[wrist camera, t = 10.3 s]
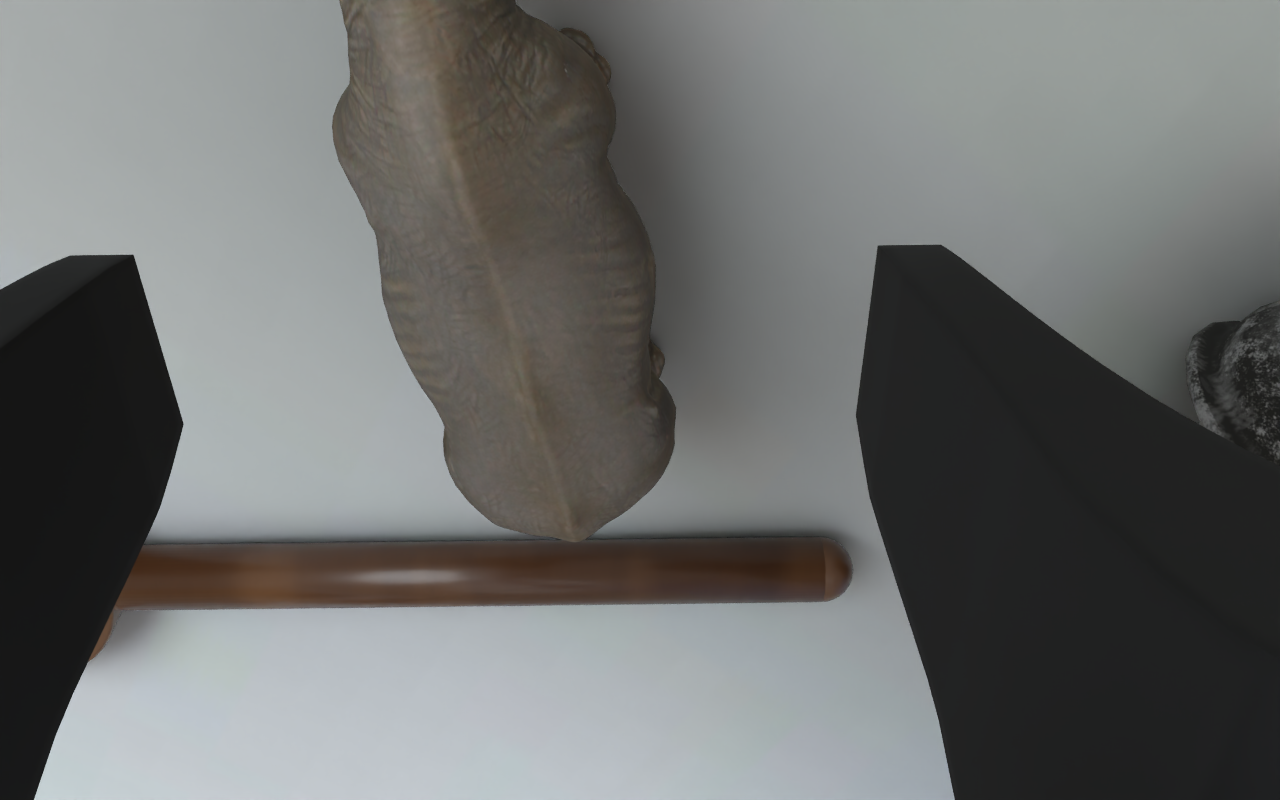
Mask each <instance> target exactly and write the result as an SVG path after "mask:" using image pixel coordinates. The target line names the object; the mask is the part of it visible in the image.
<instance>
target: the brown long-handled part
mask: <svg viewBox="0 0 1280 800" xmlns="http://www.w3.org/2000/svg"><path fill="white" fill-rule="evenodd" d="M852 574H853V565H852V561H851V558H850V556H849V554H848V552H847V551H846V550H845V548H844V547H843V546H842V545H840V544H839V543H838V542H836V541H834V540H832V539H829V538H825V537H771V538H684V539H598V540H582V541H580V542H569V541H566V540H511V541H424V542H338V543H251V544H164V545H143V546H142V548H141V551H140V553H139V555H138V557H137V559H136V561H135V564H134V566H133V568H132V570H131V572H130V574H129V577H128V579H127V581H126V583H125V585H124V587H123V589H122V591H121V593H120V595H119V598H118V600H117V602H116V604H115V606H114V608H113V610H112V612H111V614H110V617H109V619H108V621H107V623H106V625H105V627H104V629H103V631H102V633H101V635H100V638H99V640H98V642H97V644H96V646H95V648H94V650H93V652H92V654H91V657H90V659H89V661H90V660H92V659H93V658H94V657H95V656H97V655H98V653H99V652H100V651H101V650H102V649H103V648H104V647H105V645H106V643H107V641H108V640H109V638H110V636H111V634H112V632H113V629H114V627H115V625H116V623H117V621H118V619H119V616H120V614H121V612H122V610H123V611H131V610H212V609H293V608H374V607H455V606H536V605H617V604H698V603H779V602H826V601H830V600H833V599H835V598H837V597H839V596H840V595H841V594H843V593H844V592H845V590H846V589H847V588H848V586H849V584H850V582H851V579H852ZM89 661H88V662H89Z"/></svg>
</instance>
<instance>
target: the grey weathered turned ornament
mask: <svg viewBox="0 0 1280 800" xmlns="http://www.w3.org/2000/svg"><path fill="white" fill-rule="evenodd" d="M1186 372H1187V386H1188V389H1189V392H1190V395H1191V398H1192V401H1193V404H1194V407H1195V410H1196V413H1197V416H1198V419H1199V420H1200V422H1199V423H1198V424H1199V425H1201V426H1203V427H1205V428H1207V429H1209V430H1210V431H1212V432H1214V433H1216V434H1218V435H1220V436H1222V437H1223V438H1225V439H1227V440H1229V441H1231V442H1233V443H1234V444H1236V445H1238V446H1240V447H1242V448H1244V449H1246V450H1248V451H1250V452H1252V453H1253V454H1255V455H1258V456H1260V457H1262V458H1264V459H1266V460H1268V461H1270V462H1272V463H1274V464H1276V465H1278V466H1280V301H1278V302H1275V303H1271V304H1268V305H1265V306H1262V307H1260V308H1258V309H1257V310H1256V311H1254V312H1253V313H1251V314H1250V315H1249V316H1247V317H1246V318H1245V319H1243V320H1242V321H1228V322H1215V323H1211V324H1210V325H1208V326H1207V327H1205V328H1204V329H1202V330H1201V331H1199V332H1198V333H1197V334H1195V335H1194V336H1193V338H1192V341H1191V344H1190V346H1189V349H1188V351H1187V354H1186Z"/></svg>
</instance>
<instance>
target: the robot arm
mask: <svg viewBox="0 0 1280 800" xmlns="http://www.w3.org/2000/svg"><path fill="white" fill-rule="evenodd" d="M856 418H857V425H858V431H859V437H860V444H861V450H862V456H863V462H864V468H865V474H866V479H867V485H868V490H869V496H870V500H871V503H872V506H873V510H874V513H875V516H876V520H877V523H878V526H879V529H880V532H881V535H882V539H883V542H884V545H885V548H886V551H887V555H888V558H889V561H890V564H891V567H892V570H893V573H894V576H895V579H896V583H897V586H898V589H899V592H900V595H901V598H902V601H903V604H904V607H905V610H906V613H907V617H908V620H909V623H910V626H911V629H912V632H913V635H914V638H915V641H916V644H917V648H918V651H919V654H920V657H921V660H922V663H923V666H924V669H925V672H926V675H927V678H928V682H929V686H930V690H931V693H932V697H933V701H934V704H935V708H936V712H937V715H938V719H939V724H940V728H941V733H942V738H943V743H944V748H945V753H946V758H947V763H948V768H949V773H950V778H951V783H952V788H953V793H954V798H955V800H1280V466H1278V465H1276V464H1274V463H1272V462H1270V461H1268V460H1266V459H1264V458H1262V457H1260V456H1258V455H1255V454H1253V453H1252V452H1250V451H1248V450H1246V449H1244V448H1242V447H1240V446H1238V445H1236V444H1234V443H1233V442H1231V441H1229V440H1227V439H1225V438H1223V437H1222V436H1220V435H1218V434H1216V433H1214V432H1212V431H1210V430H1209V429H1207V428H1205V427H1203V426H1201V425H1199V424H1197V423H1196V422H1194V421H1192V420H1190V419H1188V418H1186V417H1185V416H1183V415H1181V414H1179V413H1178V412H1176V411H1174V410H1173V409H1171V408H1169V407H1168V406H1166V405H1164V404H1163V403H1161V402H1159V401H1158V400H1156V399H1154V398H1153V397H1151V396H1150V395H1148V394H1147V393H1145V392H1143V391H1142V390H1140V389H1139V388H1137V387H1136V386H1134V385H1133V384H1131V383H1130V382H1128V381H1127V380H1125V379H1123V378H1122V377H1120V376H1119V375H1117V374H1116V373H1114V372H1113V371H1111V370H1110V369H1108V368H1107V367H1105V366H1104V365H1102V364H1101V363H1099V362H1098V361H1096V360H1095V359H1094V358H1092V357H1091V356H1089V355H1088V354H1086V353H1085V352H1084V351H1082V350H1081V349H1079V348H1078V347H1076V346H1075V345H1074V344H1072V343H1071V342H1070V341H1068V340H1067V339H1065V338H1064V337H1063V336H1061V335H1060V334H1059V333H1057V332H1056V331H1055V330H1053V329H1052V328H1051V327H1049V326H1048V325H1047V324H1045V323H1044V322H1043V321H1041V320H1040V319H1038V318H1037V317H1036V316H1035V315H1033V314H1032V313H1031V312H1029V311H1028V310H1027V309H1025V308H1024V307H1023V306H1022V305H1020V304H1019V303H1018V302H1016V301H1015V300H1014V299H1013V298H1011V297H1010V296H1009V295H1007V294H1006V293H1005V292H1004V291H1002V290H1001V289H1000V288H999V287H997V286H996V285H995V284H993V283H992V282H991V281H990V280H988V279H987V278H986V277H984V276H983V275H982V274H981V273H979V272H978V271H977V270H975V269H974V268H973V267H972V266H970V265H969V264H968V263H966V262H965V261H964V260H962V259H961V258H960V257H958V256H957V255H955V254H954V253H953V252H951V251H950V250H948V249H947V248H945V247H944V246H942V245H883V246H878V249H877V257H876V265H875V272H874V280H873V288H872V295H871V303H870V311H869V318H868V326H867V334H866V342H865V349H864V357H863V365H862V372H861V380H860V388H859V395H858V403H857V411H856ZM183 425H184V424H183V421H182V417H181V414H180V410H179V407H178V404H177V400H176V397H175V394H174V390H173V387H172V383H171V380H170V377H169V373H168V370H167V367H166V363H165V360H164V356H163V353H162V350H161V346H160V343H159V339H158V336H157V333H156V329H155V326H154V323H153V319H152V316H151V312H150V309H149V306H148V302H147V299H146V296H145V292H144V289H143V285H142V282H141V279H140V275H139V272H138V269H137V265H136V262H135V258H134V255H79V256H68V257H66V258H63V259H61V260H58V261H56V262H53V263H51V264H49V265H47V266H45V267H43V268H40V269H38V270H36V271H35V272H33V273H31V274H29V275H27V276H25V277H23V278H21V279H19V280H17V281H15V282H14V283H12V284H10V285H8V286H6V287H4V288H3V289H1V290H0V800H34V798H35V795H36V792H37V789H38V786H39V783H40V780H41V777H42V774H43V771H44V768H45V765H46V762H47V759H48V756H49V753H50V750H51V747H52V744H53V741H54V738H55V736H56V733H57V731H58V728H59V726H60V723H61V721H62V719H63V716H64V714H65V711H66V709H67V707H68V704H69V702H70V699H71V697H72V695H73V692H74V690H75V688H76V686H77V684H78V682H79V680H80V678H81V675H82V673H83V671H84V669H85V667H86V665H87V663H88V661H89V659H90V657H91V654H92V652H93V650H94V648H95V646H96V644H97V642H98V640H99V638H100V635H101V633H102V631H103V629H104V627H105V625H106V623H107V621H108V619H109V617H110V614H111V612H112V610H113V608H114V606H115V604H116V602H117V600H118V598H119V595H120V593H121V591H122V589H123V587H124V585H125V583H126V581H127V579H128V577H129V574H130V572H131V570H132V568H133V566H134V564H135V561H136V559H137V557H138V555H139V553H140V551H141V548H142V546H143V544H144V542H145V540H146V538H147V535H148V533H149V531H150V529H151V527H152V524H153V522H154V520H155V518H156V515H157V513H158V511H159V509H160V506H161V502H162V499H163V496H164V493H165V489H166V486H167V483H168V480H169V476H170V473H171V470H172V466H173V462H174V458H175V455H176V451H177V447H178V443H179V440H180V436H181V432H182V428H183Z"/></svg>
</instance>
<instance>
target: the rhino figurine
mask: <svg viewBox="0 0 1280 800" xmlns="http://www.w3.org/2000/svg"><path fill="white" fill-rule="evenodd" d="M340 5H341V9H342V12H343V18H344V24H345V27H346V30H347V33H348V57H349V67H350V84H349V86H348V87H347V88H346V90H345V91H344V93H343V94H342V96H341V98H340V100H339V102H338V104H337V107H336V110H335V113H334V116H333V124H332V129H333V140H334V145H335V148H336V152H337V156H338V160H339V162H340V164H341V166H342V168H343V170H344V172H345V174H346V176H347V178H348V180H349V182H350V184H351V185H352V187H353V189H354V191H355V192H356V194H357V196H358V198H359V201H360V203H361V205H362V207H363V209H364V211H365V213H366V216H367V219H368V222H369V224H370V225H371V227H372V228H373V230H374V231H375V234H376V239H377V246H378V255H379V264H380V272H381V284H382V296H383V301H384V304H385V307H386V310H387V314H388V317H389V321H390V323H391V326H392V329H393V332H394V334H395V337H396V340H397V342H398V344H399V346H400V348H401V351H402V353H403V355H404V357H405V359H406V361H407V363H408V365H409V367H410V369H411V370H412V372H413V374H414V376H415V377H416V379H417V381H418V383H419V384H420V386H421V388H422V389H423V391H424V392H425V393H426V395H427V396H428V398H429V399H430V400H431V402H432V403H433V405H434V406H435V408H436V410H437V412H438V413H439V415H440V417H441V419H442V421H443V424H444V426H445V429H444V438H443V447H444V456H445V461H446V464H447V467H448V470H449V473H450V475H451V477H452V479H453V481H454V483H455V485H456V486H457V488H458V489H459V490H460V491H461V493H462V494H463V495H464V496H465V498H466V499H467V500H468V501H469V502H470V503H471V504H472V505H473V506H474V507H475V508H476V509H477V510H478V511H479V512H480V513H481V514H483V515H484V516H485V517H486V518H487V519H488V520H490V521H491V522H492V523H494V524H496V525H498V526H500V527H503V528H506V529H510V530H514V531H518V532H522V533H526V534H530V535H535V536H548V537H554V538H558V539H562V540H566V541H569V542H580V541H582V540H584V539H586V538H588V537H590V536H591V535H592V534H593V533H595V532H596V531H597V530H598V529H600V528H601V527H602V526H604V525H605V524H606V523H608V522H610V521H611V520H613V519H615V518H617V517H618V516H620V515H622V514H623V513H624V512H626V511H627V510H628V509H630V508H631V507H632V506H633V505H634V504H635V503H637V502H638V501H639V500H640V499H641V498H642V497H643V496H645V495H646V494H647V493H648V492H649V491H650V490H651V489H652V488H653V487H654V486H655V484H656V483H657V482H658V481H659V479H660V478H661V476H662V475H663V473H664V472H665V469H666V467H667V465H668V463H669V461H670V458H671V456H672V453H673V449H674V444H675V440H674V428H675V419H676V406H675V404H674V401H673V399H672V396H671V395H670V393H669V391H668V390H667V388H666V387H665V385H664V384H663V383H662V382H661V381H660V379H659V377H660V375H661V372H662V369H663V366H664V362H665V357H664V354H663V352H662V351H661V350H660V349H659V348H658V347H656V346H655V345H654V344H653V343H652V342H651V340H650V329H651V322H652V316H653V310H654V304H655V288H656V265H655V260H654V254H653V251H652V247H651V244H650V240H649V237H648V234H647V232H646V229H645V227H644V225H643V222H642V220H641V218H640V216H639V214H638V212H637V210H636V208H635V206H634V205H633V203H632V202H631V200H630V199H629V197H628V196H627V195H626V193H625V192H624V191H623V189H622V188H621V187H620V185H619V184H618V182H617V179H616V176H615V174H614V171H613V168H612V166H611V164H610V162H609V160H608V157H607V150H608V146H609V144H610V142H611V140H612V137H613V134H614V131H615V124H616V110H615V104H614V100H613V97H612V95H611V92H610V90H609V88H608V86H607V85H608V83H609V80H610V77H611V69H610V65H609V63H608V62H607V60H606V59H605V58H604V57H602V56H601V55H599V54H598V53H597V52H596V51H595V48H594V45H593V43H592V41H591V40H590V38H589V37H588V36H587V35H586V34H585V33H584V32H582V31H579V30H576V29H571V28H564V29H562V30H560V31H558V30H556V29H554V28H553V27H551V26H550V25H548V24H546V23H545V22H543V21H541V20H539V19H537V18H534V17H532V16H530V15H527V14H526V13H525V12H523V11H522V10H521V9H520V8H519V7H518V6H517V5H516V3H515V0H340Z"/></svg>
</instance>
